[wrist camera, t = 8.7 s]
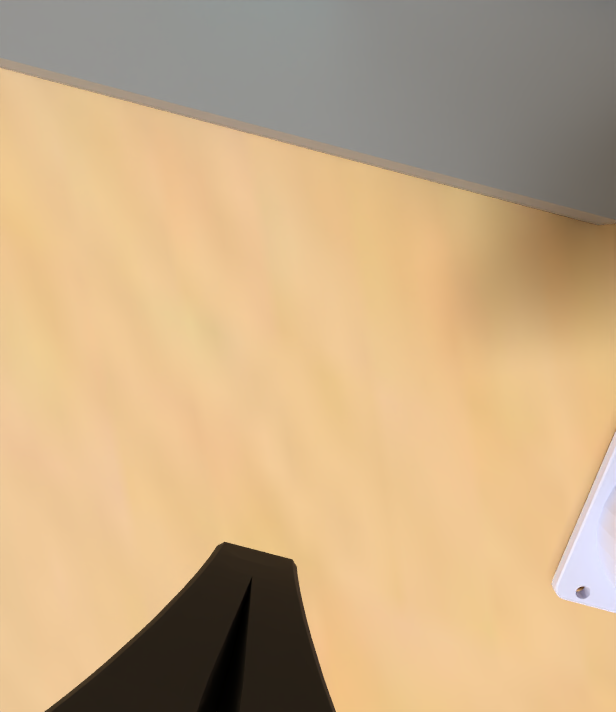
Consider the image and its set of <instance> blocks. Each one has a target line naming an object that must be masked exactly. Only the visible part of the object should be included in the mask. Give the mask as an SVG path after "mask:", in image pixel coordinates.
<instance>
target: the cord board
mask: <svg viewBox="0 0 616 712" xmlns="http://www.w3.org/2000/svg"><path fill="white" fill-rule="evenodd" d="M0 68H4V69H8V70H12V71H15V72H19V73H23V74H27V75H31V76H34V77H38V78H42V79H46V80H50V81H53V82H57V83H61V84H65V85H68V86H72V87H76V88H80V89H84V90H87V91H91V92H95V93H99V94H103V95H106V96H110V97H114V98H118V99H122V100H125V101H129V102H133V103H137V104H141V105H144V106H148V107H152V108H156V109H160V110H163V111H167V112H171V113H175V114H179V115H182V116H186V117H190V118H194V119H198V120H201V121H205V122H209V123H213V124H217V125H220V126H224V127H228V128H232V129H236V130H239V131H243V132H247V133H251V134H255V135H258V136H262V137H266V138H270V139H274V140H277V141H281V142H285V143H289V144H292V145H296V146H300V147H304V148H308V149H311V150H315V151H319V152H323V153H327V154H330V155H334V156H338V157H342V158H346V159H349V160H353V161H357V162H361V163H365V164H368V165H372V166H376V167H380V168H384V169H387V170H391V171H395V172H399V173H403V174H406V175H410V176H414V177H418V178H422V179H425V180H429V181H433V182H437V183H441V184H444V185H448V186H452V187H456V188H460V189H463V190H467V191H471V192H475V193H479V194H482V195H486V196H490V197H494V198H498V199H501V200H505V201H509V202H513V203H516V204H520V205H524V206H528V207H532V208H535V209H539V210H543V211H547V212H551V213H554V214H558V215H562V216H566V217H570V218H573V219H577V220H581V221H585V222H589V223H592V224H596V225H604V224H615V223H616V0H0Z"/></svg>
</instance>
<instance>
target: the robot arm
mask: <svg viewBox="0 0 616 712" xmlns="http://www.w3.org/2000/svg"><path fill="white" fill-rule="evenodd" d="M582 586H585V587H584V588H583V590H581V591H576V590H577V589H578V588H579V587H582ZM552 587H553V589H554V591H555V592H556V594H557V595H558V596H559V597H560V598H562V599H564V600H568V601H572V602H575V603H579V604H583V605H587V606H591V607H595V608H599V609H602V610H606V611H610V612H614V613H616V432H615V434H614V436H613V439H612V441H611V443H610V446H609V448H608V450H607V453H606V455H605V458H604V460H603V462H602V465H601V467H600V469H599V472H598V474H597V476H596V479H595V481H594V483H593V486H592V488H591V490H590V493H589V495H588V497H587V500H586V502H585V504H584V507H583V509H582V512H581V514H580V516H579V519H578V521H577V523H576V526H575V528H574V530H573V533H572V535H571V537H570V540H569V542H568V544H567V547H566V549H565V551H564V554H563V556H562V558H561V561H560V563H559V566H558V568H557V570H556V573H555V575H554V577H553V580H552ZM216 711H217V712H336V711H335V708H334V705H333V703H332V700H331V697H330V695H329V692H328V689H327V686H326V683H325V680H324V677H323V674H322V671H321V667H320V664H319V661H318V657H317V654H316V651H315V648H314V644H313V641H312V638H311V634H310V630H309V627H308V623H307V619H306V615H305V611H304V606H303V602H302V597H301V593H300V587H299V582H298V575H297V567H296V565H295V563H294V561H293V560H292V559H288V558H285V557H281V556H277V555H273V554H269V553H265V552H261V551H258V550H254V549H250V548H246V547H242V546H238V545H235V544H231V543H227V542H224V543H222V544H220V545H218V546H217V547H216V548H215V550H214V551H213V553H212V554H211V556H210V557H209V558H208V560H207V561H206V562H205V564H204V565H203V566H202V567H201V568H200V570H199V571H198V572H197V573H196V574H195V575H194V577H193V578H192V579H191V580H190V581H189V582H188V583H187V584H186V586H185V587H184V588H183V589H182V590H181V591H180V592H179V593H178V594H177V595H176V596H175V597H174V598H173V599H172V600H171V601H170V602H169V603H168V604H167V605H166V606H165V607H164V608H163V610H162V611H161V612H160V613H159V614H158V615H157V616H156V617H155V618H154V619H153V620H152V621H151V622H150V623H149V624H147V625H146V626H145V627H144V628H143V629H142V630H141V631H140V632H139V633H138V634H137V635H135V636H134V637H133V638H132V639H131V640H130V641H129V642H128V643H127V644H126V645H124V646H123V647H122V648H121V649H120V650H119V651H118V652H117V653H116V654H115V655H113V656H112V657H111V658H110V659H109V660H108V661H107V662H106V663H104V664H103V665H102V666H101V667H100V668H99V669H97V670H96V671H95V672H94V673H93V674H91V675H90V676H89V677H88V678H87V679H85V680H84V681H83V682H82V683H81V684H79V685H78V686H77V687H76V688H74V689H73V690H72V691H71V692H69V693H68V694H67V695H66V696H64V697H63V698H62V699H60V700H59V701H58V702H57V703H55V704H54V705H53V706H51V707H50V708H49V709H48V710H46V711H45V712H216Z"/></svg>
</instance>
